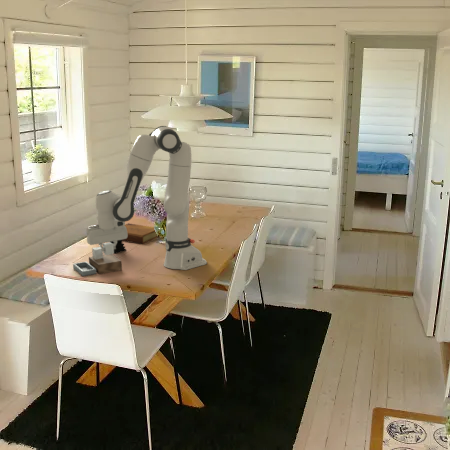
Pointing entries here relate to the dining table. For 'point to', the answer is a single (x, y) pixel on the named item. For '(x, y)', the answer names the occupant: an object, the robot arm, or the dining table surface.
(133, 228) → the diary
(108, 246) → the off-white small block
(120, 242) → the chess piece
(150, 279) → the dining table surface
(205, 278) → the dining table surface
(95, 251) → the white block
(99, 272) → the square brown board
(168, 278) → the dining table surface
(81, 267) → the tray
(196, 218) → the dining table surface
